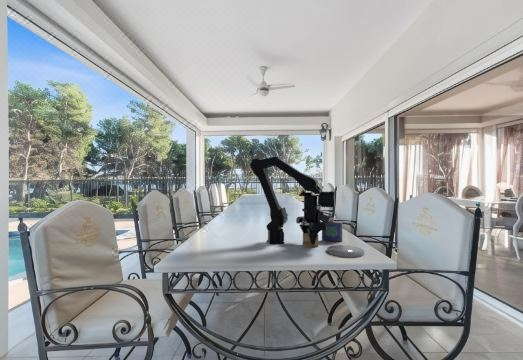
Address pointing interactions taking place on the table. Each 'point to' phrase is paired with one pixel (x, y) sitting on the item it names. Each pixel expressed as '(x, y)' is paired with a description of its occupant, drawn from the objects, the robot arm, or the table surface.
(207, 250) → the table surface
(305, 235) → the walnut cube
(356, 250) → the slate plate
